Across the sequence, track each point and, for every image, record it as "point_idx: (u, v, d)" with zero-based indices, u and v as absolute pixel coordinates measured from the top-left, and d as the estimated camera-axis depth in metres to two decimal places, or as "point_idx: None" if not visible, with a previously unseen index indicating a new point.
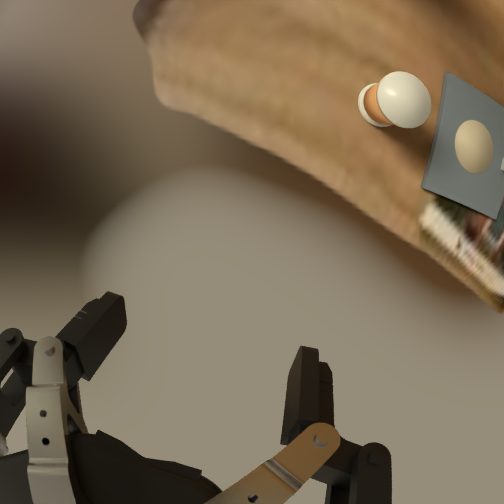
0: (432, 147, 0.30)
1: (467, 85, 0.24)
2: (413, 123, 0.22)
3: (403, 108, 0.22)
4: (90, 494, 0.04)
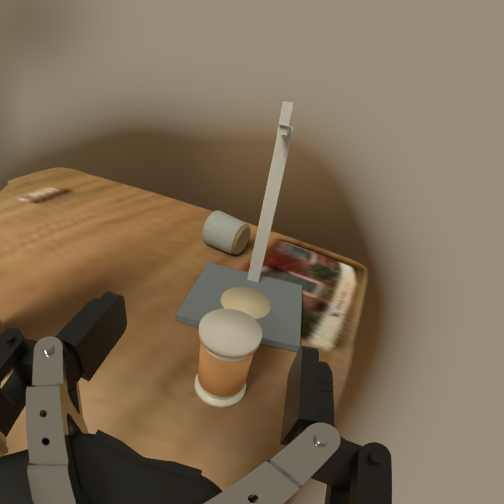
0: None
1: (187, 300, 0.42)
2: (255, 325, 0.27)
3: (241, 332, 0.26)
4: (90, 494, 0.04)
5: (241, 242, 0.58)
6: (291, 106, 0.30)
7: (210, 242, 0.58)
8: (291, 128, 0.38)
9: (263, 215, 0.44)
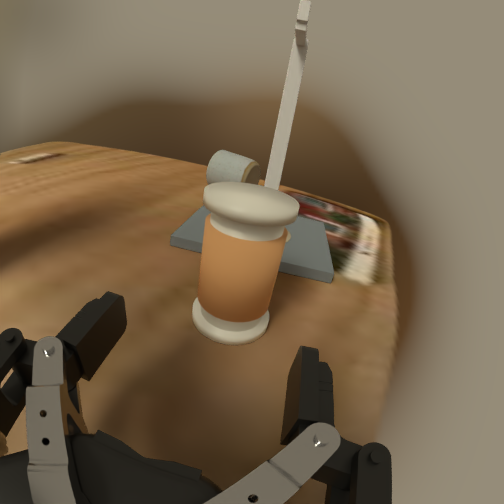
0: None
1: (186, 224, 0.33)
2: (287, 197, 0.18)
3: (268, 198, 0.17)
4: (90, 494, 0.04)
5: (251, 181, 0.50)
6: (309, 4, 0.21)
7: (215, 182, 0.50)
8: (307, 41, 0.29)
9: (278, 131, 0.36)
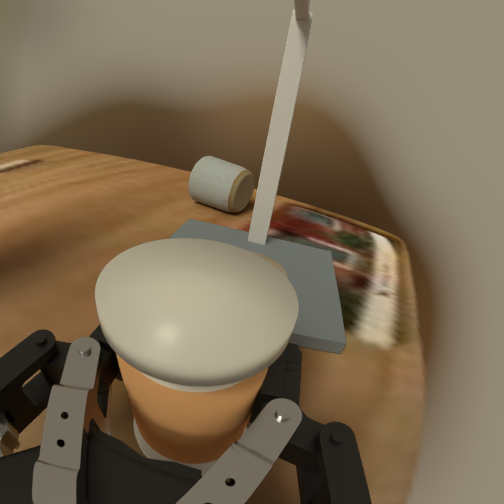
0: None
1: None
2: (275, 278, 0.09)
3: (231, 294, 0.08)
4: (90, 494, 0.04)
5: (242, 195, 0.41)
6: None
7: (199, 196, 0.41)
8: (310, 14, 0.20)
9: (272, 132, 0.26)
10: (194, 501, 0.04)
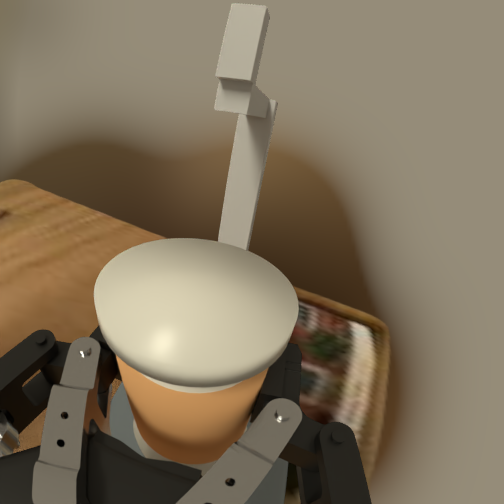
0: None
1: None
2: (275, 279, 0.09)
3: (231, 295, 0.08)
4: (90, 494, 0.04)
5: None
6: (260, 15, 0.07)
7: None
8: (271, 104, 0.15)
9: None
10: (194, 501, 0.04)
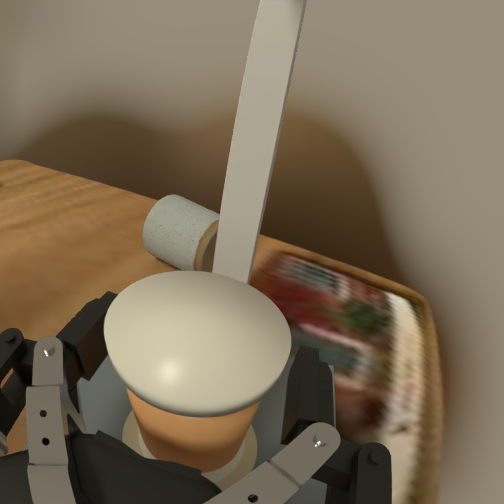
0: None
1: None
2: (270, 314, 0.10)
3: (229, 332, 0.08)
4: (90, 494, 0.04)
5: None
6: None
7: (157, 254, 0.30)
8: None
9: (231, 194, 0.13)
10: None
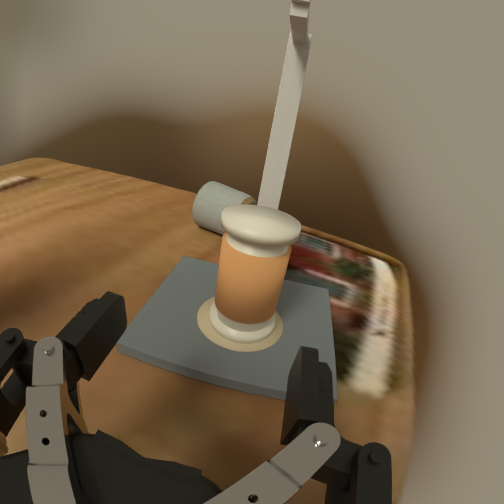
0: (259, 392, 0.19)
1: (139, 317, 0.23)
2: (291, 218, 0.22)
3: (275, 221, 0.21)
4: (90, 494, 0.04)
5: None
6: None
7: (203, 222, 0.42)
8: (309, 36, 0.19)
9: (267, 172, 0.26)
10: None
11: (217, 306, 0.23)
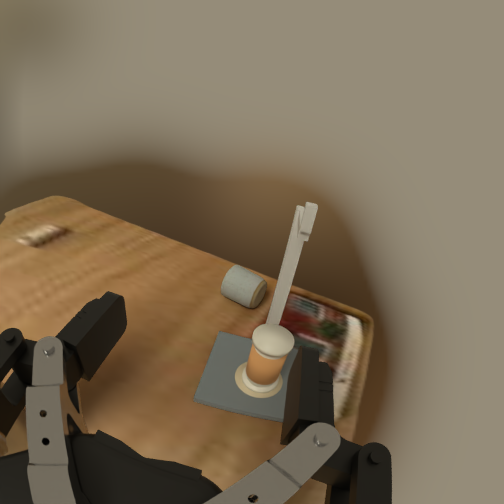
0: (270, 418, 0.37)
1: (202, 380, 0.41)
2: (289, 334, 0.39)
3: (281, 339, 0.38)
4: (90, 494, 0.04)
5: (259, 297, 0.60)
6: (315, 211, 0.29)
7: (229, 296, 0.60)
8: None
9: (276, 298, 0.43)
10: None
11: (248, 375, 0.41)
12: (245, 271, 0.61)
